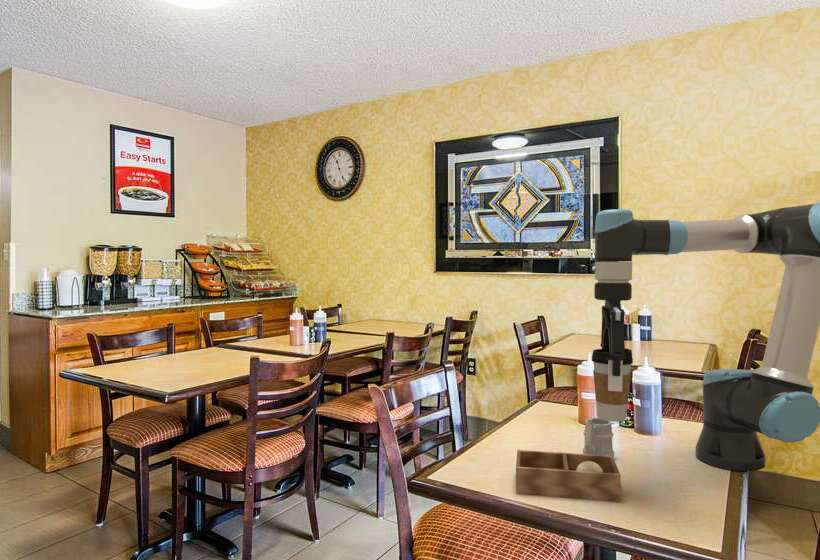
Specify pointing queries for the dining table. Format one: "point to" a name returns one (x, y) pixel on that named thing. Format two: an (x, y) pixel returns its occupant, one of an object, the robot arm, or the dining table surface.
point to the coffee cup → (607, 402)
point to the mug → (598, 437)
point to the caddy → (567, 476)
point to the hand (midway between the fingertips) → (611, 385)
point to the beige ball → (589, 467)
